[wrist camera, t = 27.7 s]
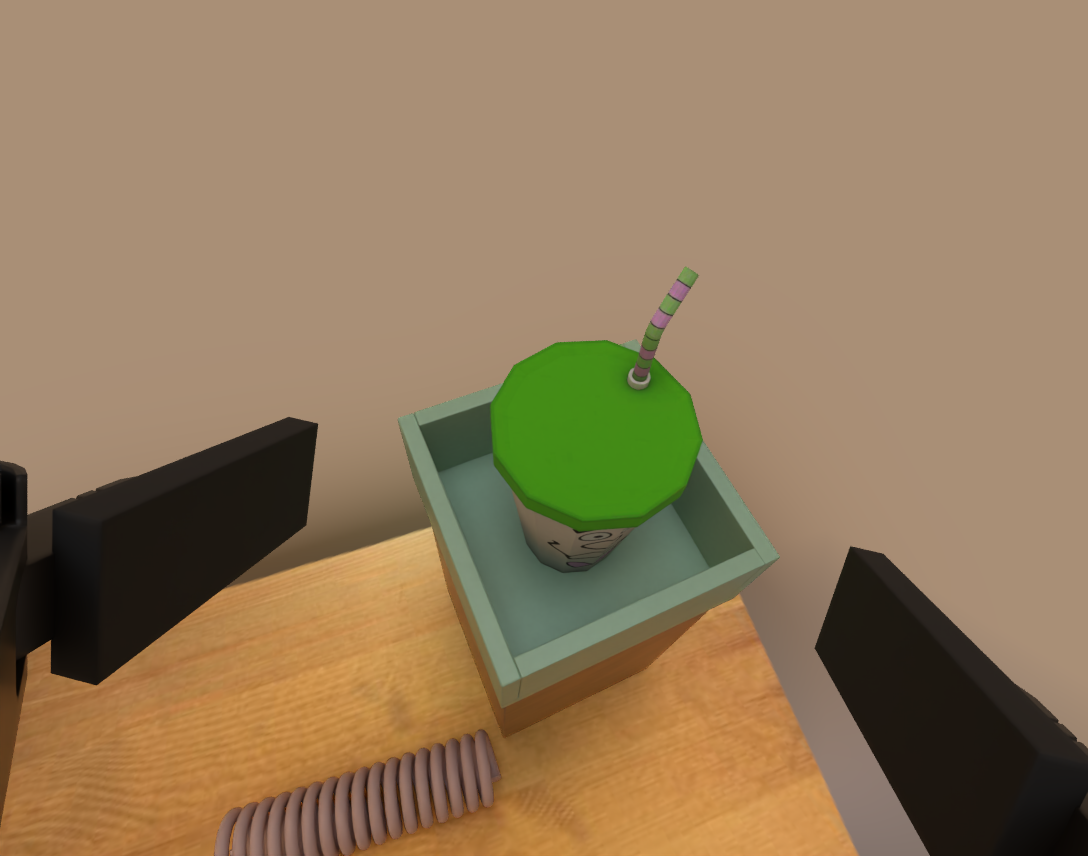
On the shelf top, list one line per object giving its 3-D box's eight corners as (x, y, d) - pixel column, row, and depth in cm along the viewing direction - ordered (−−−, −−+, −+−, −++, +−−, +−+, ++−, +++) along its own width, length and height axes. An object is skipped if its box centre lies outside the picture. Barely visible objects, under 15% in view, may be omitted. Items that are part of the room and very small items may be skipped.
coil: (205, 910, 35) (508, 804, 39) (200, 819, 37) (490, 726, 41) (234, 890, 40) (505, 797, 43) (229, 809, 41) (489, 726, 45)
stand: (503, 738, 45) (505, 699, 28) (447, 589, 50) (420, 479, 33) (646, 668, 48) (726, 594, 31) (578, 534, 53) (615, 409, 36)
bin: (501, 709, 28) (501, 688, 22) (412, 476, 33) (396, 417, 28) (734, 597, 31) (780, 557, 26) (617, 403, 37) (636, 338, 31)
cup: (517, 628, 28) (532, 486, 16) (474, 482, 32) (456, 271, 19) (670, 579, 30) (796, 414, 17) (612, 446, 34) (679, 229, 21)
